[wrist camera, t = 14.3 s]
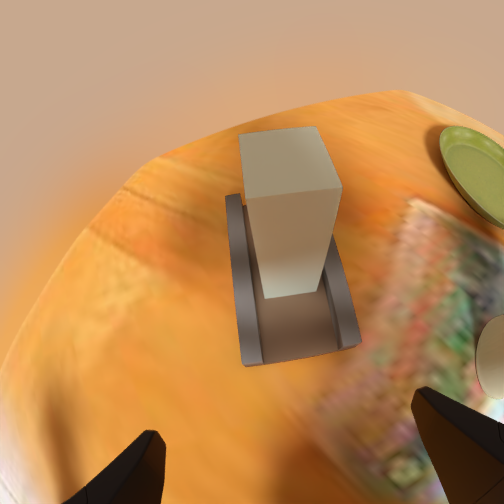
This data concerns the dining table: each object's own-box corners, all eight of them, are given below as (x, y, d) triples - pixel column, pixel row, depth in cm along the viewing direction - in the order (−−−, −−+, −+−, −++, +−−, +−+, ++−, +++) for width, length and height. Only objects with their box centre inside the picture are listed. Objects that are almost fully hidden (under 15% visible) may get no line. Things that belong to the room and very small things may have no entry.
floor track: (354, 347, 21) (362, 341, 19) (245, 367, 21) (241, 363, 19) (313, 198, 29) (315, 182, 27) (229, 211, 29) (224, 195, 27)
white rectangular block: (316, 291, 23) (343, 187, 12) (264, 298, 23) (245, 199, 12) (305, 242, 26) (315, 126, 14) (258, 248, 26) (238, 134, 14)
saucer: (441, 124, 35) (445, 110, 33) (525, 183, 28) (533, 172, 25) (421, 190, 28) (429, 172, 26) (530, 270, 21) (543, 259, 18)
